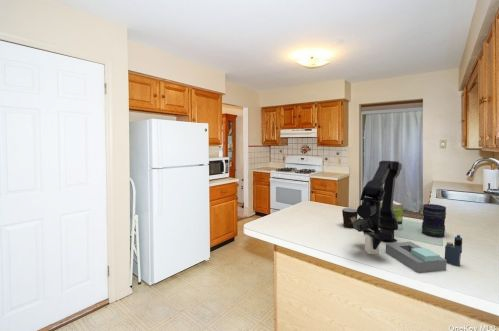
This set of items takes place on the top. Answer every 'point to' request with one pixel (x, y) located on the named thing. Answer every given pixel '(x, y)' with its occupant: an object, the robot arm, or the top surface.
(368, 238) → the grey tall block
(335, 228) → the top surface
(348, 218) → the coffee mug
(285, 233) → the top surface
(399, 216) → the tea box
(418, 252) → the teal rectangular block
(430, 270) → the socket
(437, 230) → the storage jar
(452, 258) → the vaping device
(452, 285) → the top surface
